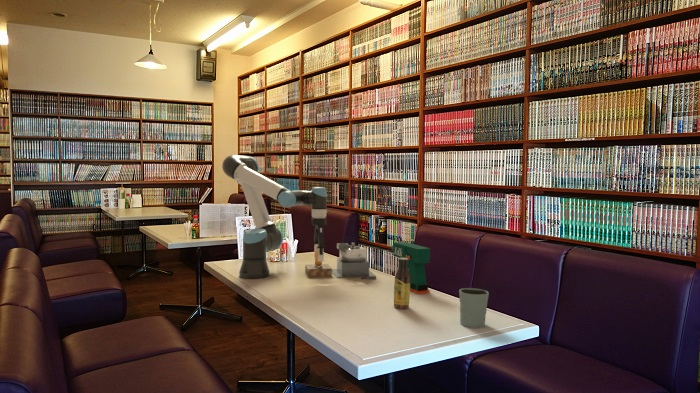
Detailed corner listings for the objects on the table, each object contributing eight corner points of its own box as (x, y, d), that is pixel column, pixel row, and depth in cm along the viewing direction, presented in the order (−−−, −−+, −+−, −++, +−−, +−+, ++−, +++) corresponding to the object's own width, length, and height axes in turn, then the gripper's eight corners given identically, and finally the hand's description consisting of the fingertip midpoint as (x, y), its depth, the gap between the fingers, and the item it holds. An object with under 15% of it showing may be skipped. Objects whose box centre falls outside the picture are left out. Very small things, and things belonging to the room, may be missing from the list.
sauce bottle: (390, 305, 194) (392, 257, 193) (404, 304, 196) (406, 256, 195) (398, 310, 188) (399, 259, 187) (412, 309, 190) (413, 259, 189)
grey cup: (452, 323, 172) (453, 290, 172) (468, 318, 180) (469, 286, 179) (478, 330, 165) (479, 296, 165) (492, 324, 172) (494, 291, 172)
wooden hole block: (307, 279, 239) (308, 269, 239) (305, 274, 251) (305, 264, 251) (331, 278, 242) (331, 268, 242) (327, 273, 254) (328, 264, 253)
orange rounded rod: (315, 275, 244) (315, 251, 244) (314, 273, 248) (314, 250, 247) (322, 274, 245) (322, 251, 245) (321, 273, 249) (321, 250, 248)
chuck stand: (337, 280, 238) (337, 264, 238) (330, 271, 258) (330, 257, 258) (376, 279, 242) (376, 263, 242) (366, 270, 262) (366, 256, 262)
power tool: (381, 279, 243) (382, 239, 242) (393, 278, 246) (394, 239, 245) (416, 294, 214) (417, 249, 213) (429, 292, 217) (430, 248, 216)
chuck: (340, 262, 241) (340, 245, 241) (335, 257, 255) (335, 241, 255) (369, 261, 244) (369, 244, 244) (362, 256, 258) (363, 240, 258)
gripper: (330, 219, 234) (330, 263, 235) (322, 215, 258) (322, 254, 259) (315, 219, 232) (314, 263, 233) (308, 215, 256) (308, 254, 257)
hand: (318, 258), depth 246 cm, fingers open, 13 cm apart
